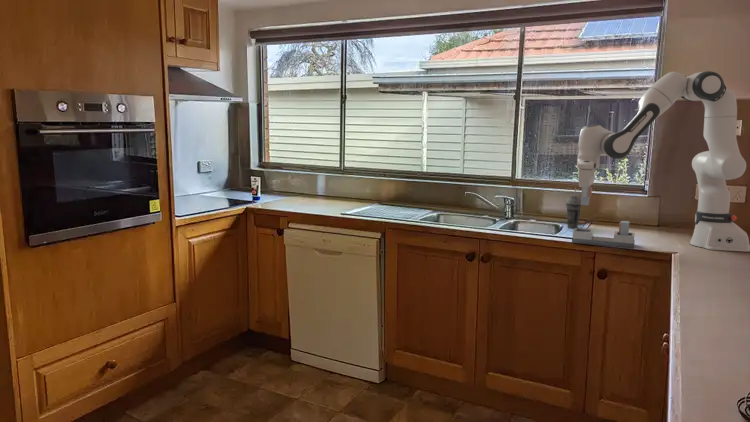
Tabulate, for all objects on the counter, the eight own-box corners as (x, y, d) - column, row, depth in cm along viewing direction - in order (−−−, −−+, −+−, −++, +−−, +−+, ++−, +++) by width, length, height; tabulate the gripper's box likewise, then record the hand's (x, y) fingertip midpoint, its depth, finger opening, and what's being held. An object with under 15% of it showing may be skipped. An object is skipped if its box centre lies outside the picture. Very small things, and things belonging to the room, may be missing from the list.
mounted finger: (628, 240, 224) (629, 221, 223) (627, 242, 221) (629, 223, 219) (618, 239, 226) (619, 220, 225) (618, 241, 222) (619, 222, 221)
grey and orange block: (581, 203, 231) (583, 185, 230) (590, 204, 229) (592, 185, 228) (580, 204, 227) (582, 186, 226) (589, 205, 226) (591, 186, 224)
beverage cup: (578, 226, 266) (580, 186, 262) (582, 229, 258) (584, 187, 255) (563, 225, 266) (565, 185, 263) (566, 228, 259) (569, 187, 256)
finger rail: (634, 244, 225) (635, 232, 224) (633, 248, 218) (634, 236, 217) (574, 239, 236) (574, 227, 235) (571, 242, 229) (572, 231, 228)
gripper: (583, 161, 236) (581, 192, 238) (576, 164, 218) (574, 198, 220) (598, 162, 233) (596, 193, 235) (593, 165, 215) (590, 199, 218)
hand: (585, 196), depth 228 cm, fingers closed on grey and orange block, 4 cm apart
